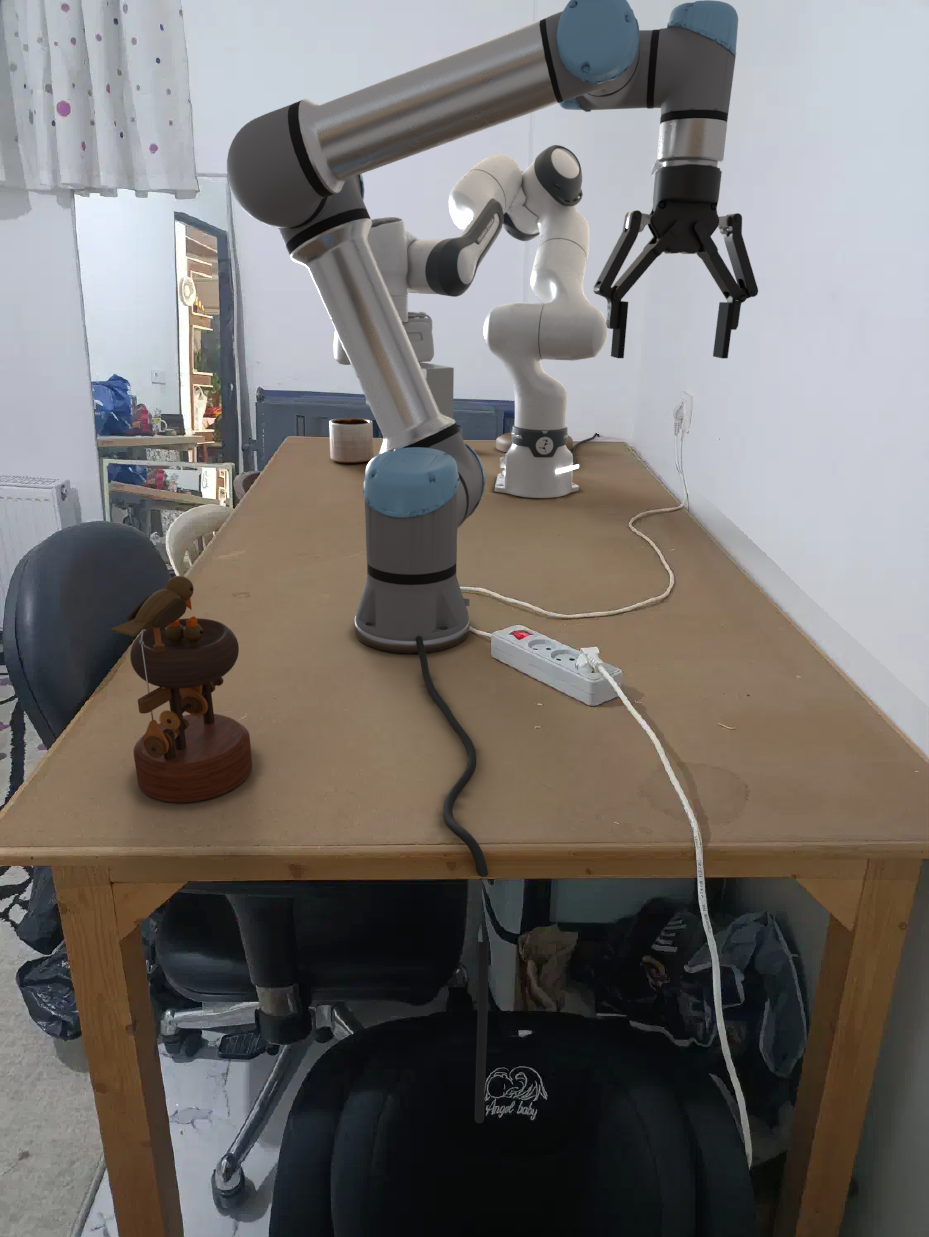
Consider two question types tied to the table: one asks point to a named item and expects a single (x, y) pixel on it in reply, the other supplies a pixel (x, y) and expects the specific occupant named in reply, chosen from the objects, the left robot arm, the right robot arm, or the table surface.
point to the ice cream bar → (505, 442)
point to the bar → (440, 386)
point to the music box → (184, 700)
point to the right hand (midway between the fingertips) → (386, 387)
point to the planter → (351, 440)
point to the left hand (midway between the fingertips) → (669, 357)
